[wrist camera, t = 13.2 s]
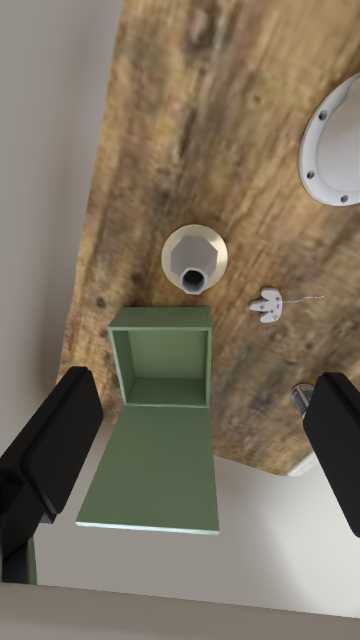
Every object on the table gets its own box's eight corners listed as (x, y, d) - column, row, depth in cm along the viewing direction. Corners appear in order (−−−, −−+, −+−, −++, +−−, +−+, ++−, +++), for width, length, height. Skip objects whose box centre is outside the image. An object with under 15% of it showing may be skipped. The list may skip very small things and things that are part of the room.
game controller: (244, 294, 35) (247, 300, 33) (318, 262, 33) (327, 266, 30) (255, 322, 38) (259, 329, 35) (325, 294, 35) (335, 300, 32)
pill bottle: (297, 403, 46) (317, 441, 39) (285, 390, 45) (303, 427, 37) (319, 392, 44) (344, 430, 37) (307, 379, 43) (330, 415, 35)
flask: (163, 273, 34) (151, 297, 25) (180, 226, 31) (175, 235, 22) (205, 290, 35) (208, 319, 26) (226, 247, 32) (238, 263, 23)
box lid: (74, 521, 23) (76, 525, 23) (219, 531, 22) (219, 535, 22) (123, 405, 39) (123, 408, 39) (209, 407, 38) (209, 411, 38)
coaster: (159, 225, 31) (158, 225, 31) (229, 223, 31) (230, 223, 30) (164, 290, 36) (163, 292, 36) (225, 290, 35) (225, 291, 35)
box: (121, 306, 38) (107, 327, 32) (209, 306, 37) (212, 327, 31) (133, 377, 45) (124, 405, 39) (207, 379, 44) (209, 407, 38)
